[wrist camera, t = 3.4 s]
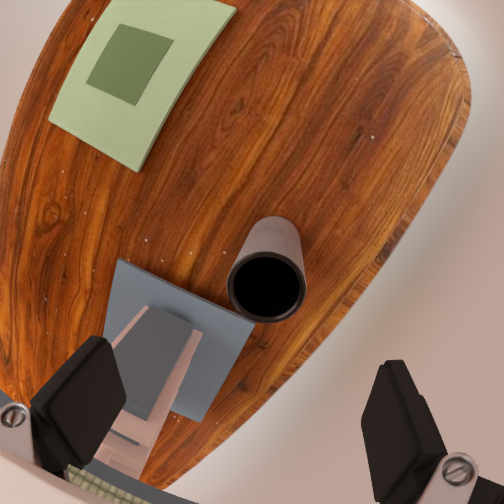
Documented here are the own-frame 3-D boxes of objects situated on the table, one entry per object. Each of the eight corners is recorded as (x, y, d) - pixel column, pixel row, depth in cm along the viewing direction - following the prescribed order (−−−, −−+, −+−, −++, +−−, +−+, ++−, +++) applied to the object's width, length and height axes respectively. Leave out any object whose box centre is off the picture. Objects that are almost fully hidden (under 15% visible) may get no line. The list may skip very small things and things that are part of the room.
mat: (129, -18, 19) (126, -20, 19) (237, 10, 20) (236, 7, 20) (51, 120, 25) (47, 120, 24) (139, 172, 26) (136, 172, 25)
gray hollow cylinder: (272, 274, 27) (263, 337, 18) (238, 239, 27) (209, 285, 17) (310, 242, 26) (322, 293, 16) (275, 204, 26) (268, 234, 16)
